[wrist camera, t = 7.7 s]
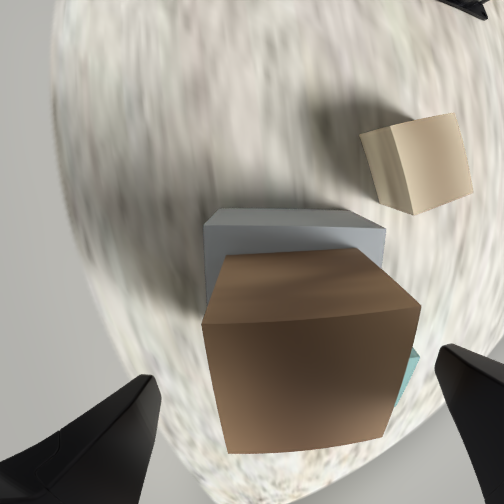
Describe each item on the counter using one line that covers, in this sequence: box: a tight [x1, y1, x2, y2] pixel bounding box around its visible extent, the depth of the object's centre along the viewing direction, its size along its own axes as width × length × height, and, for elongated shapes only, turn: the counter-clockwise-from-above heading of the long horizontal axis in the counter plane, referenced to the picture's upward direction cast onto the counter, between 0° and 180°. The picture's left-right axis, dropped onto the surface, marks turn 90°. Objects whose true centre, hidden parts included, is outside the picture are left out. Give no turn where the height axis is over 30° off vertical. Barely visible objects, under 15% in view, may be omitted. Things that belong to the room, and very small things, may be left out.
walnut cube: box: [201, 248, 421, 454], centre depth 9 cm, size 5×5×5 cm
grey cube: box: [203, 208, 386, 307], centre depth 14 cm, size 7×7×5 cm
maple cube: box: [359, 113, 473, 216], centre depth 12 cm, size 4×4×4 cm
